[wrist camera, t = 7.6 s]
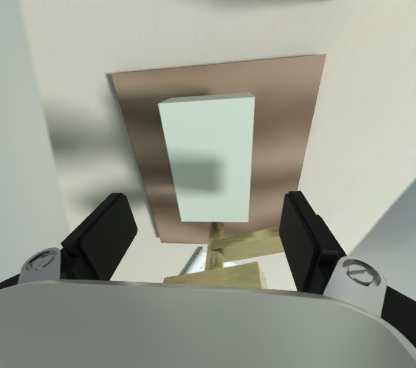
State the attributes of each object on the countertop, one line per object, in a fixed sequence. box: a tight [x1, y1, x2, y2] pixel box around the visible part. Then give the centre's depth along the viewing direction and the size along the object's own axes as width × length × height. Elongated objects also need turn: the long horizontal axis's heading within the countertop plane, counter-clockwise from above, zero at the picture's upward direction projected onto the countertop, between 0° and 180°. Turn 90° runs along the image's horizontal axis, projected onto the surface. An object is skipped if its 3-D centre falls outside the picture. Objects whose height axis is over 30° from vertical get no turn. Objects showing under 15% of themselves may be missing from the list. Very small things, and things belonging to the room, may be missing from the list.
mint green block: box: [158, 92, 255, 222], centre depth 15 cm, size 10×6×3 cm, turn 4°
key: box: [163, 222, 285, 289], centre depth 17 cm, size 11×2×13 cm, turn 113°
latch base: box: [111, 54, 326, 244], centre depth 20 cm, size 22×18×4 cm
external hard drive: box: [185, 247, 247, 274], centre depth 32 cm, size 2×8×12 cm
